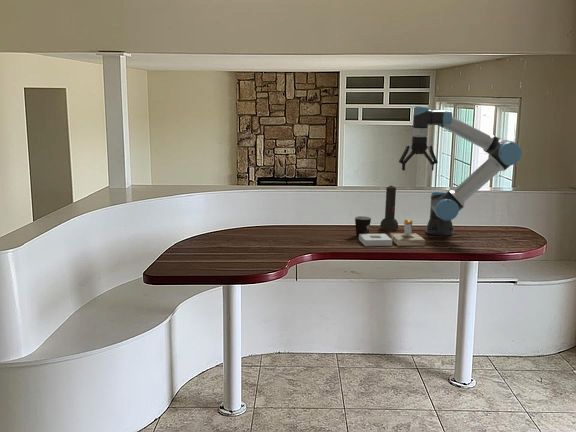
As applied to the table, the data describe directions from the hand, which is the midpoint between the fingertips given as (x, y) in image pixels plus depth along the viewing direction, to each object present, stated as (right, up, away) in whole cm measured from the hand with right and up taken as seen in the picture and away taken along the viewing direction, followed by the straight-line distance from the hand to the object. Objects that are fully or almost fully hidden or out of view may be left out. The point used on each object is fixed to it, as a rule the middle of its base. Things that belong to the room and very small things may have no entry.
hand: (417, 176), depth 335 cm
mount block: (-23, -34, -7) cm, 42 cm away
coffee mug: (-27, -32, +7) cm, 42 cm away
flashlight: (-11, -28, +25) cm, 39 cm away
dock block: (-6, -34, -5) cm, 35 cm away
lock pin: (-6, -34, -5) cm, 35 cm away
